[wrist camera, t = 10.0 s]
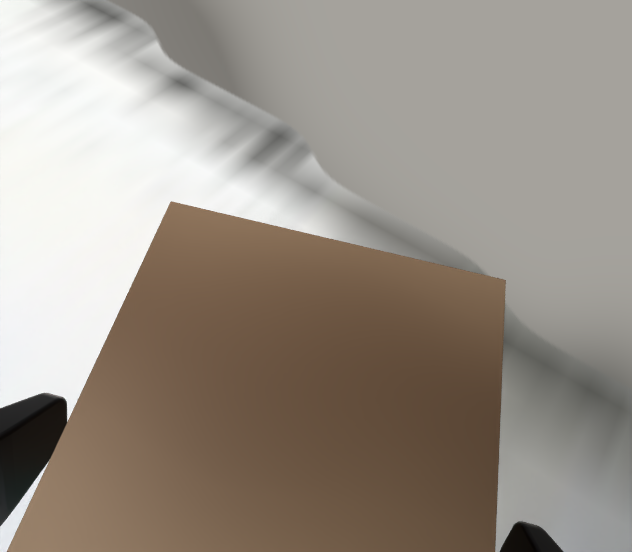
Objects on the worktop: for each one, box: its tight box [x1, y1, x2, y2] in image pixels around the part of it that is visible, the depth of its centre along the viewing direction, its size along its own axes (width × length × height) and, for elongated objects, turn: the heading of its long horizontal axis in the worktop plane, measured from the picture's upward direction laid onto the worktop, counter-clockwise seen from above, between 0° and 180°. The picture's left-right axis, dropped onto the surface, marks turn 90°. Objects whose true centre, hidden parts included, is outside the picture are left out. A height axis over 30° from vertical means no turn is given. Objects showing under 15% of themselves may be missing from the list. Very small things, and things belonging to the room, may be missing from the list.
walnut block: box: [7, 202, 506, 552], centre depth 10 cm, size 5×5×12 cm
